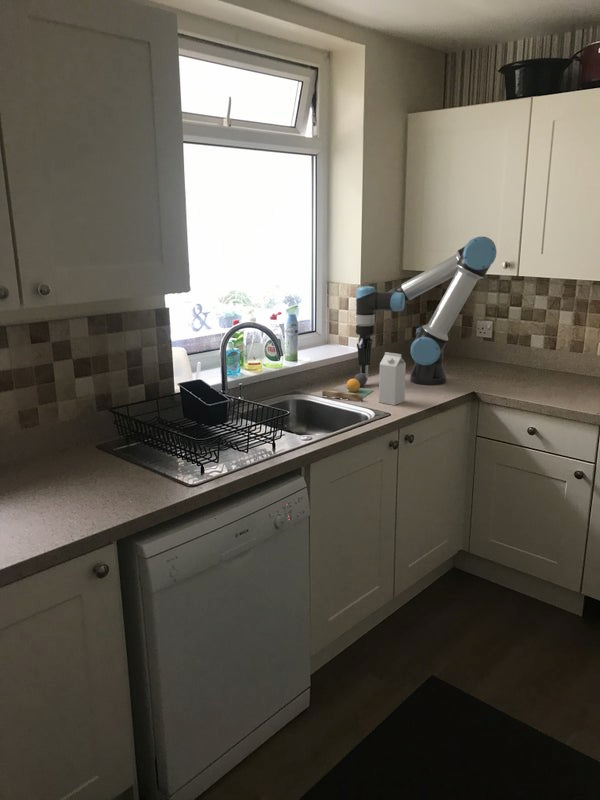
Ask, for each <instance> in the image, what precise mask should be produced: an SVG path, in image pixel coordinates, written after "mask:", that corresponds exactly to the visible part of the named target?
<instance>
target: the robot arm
mask: <svg viewBox="0 0 600 800" xmlns="http://www.w3.org/2000/svg"><path fill="white" fill-rule="evenodd" d="M495 244H496V243H495V242H494V241H493V240H492V239H491V238H489V237H486V236H477V237H474V238H471V239H470V240H469V241H468V242H467V243H466V244H465V245H464V246H463V247H461V248H460V249H458V250H456V253H455V254H454V255H452V256H450V257H448V258H446V259H445V260H443V261H441V262H439V263H437V264H436V265H434V266H432V267H429V268H428V269H427V270H425V271H423V272H421V273H420V274H419V273H418V274H417V275H416V276H413V277H412V278H410V279H408V280H406V281H405V282H403V283H401V284H399V285H397V286H396V287H393V288H391V289H389V290H388V291H376V288H375V286H367V285H365V286H363V285H362V286H359V287H357V289H356V298H355V303H356V304H355V306H356V307H355V310H356V311H355V316H354V318H355V321H356V323H355V324H356V325H355V334H356V335H359V338H358V343H357V344H356V348H357V357H358V366H360V373H361V374H364V375H365V376H366V378H367V381H369V366H370V365H371V354H372V345H373V338H371V336H372V335H374V334H375V316H376V314H375V311H376V312H377V311H378V312H379V311H381V312H382V311H383V312H384V311H385V312H395V313H396V312H402V311H404V309H405V306H406V305H405V304H406V303H407V302H409V301H411V300H413V299H414V298H416V297H418V296H420V295H421V294H423V293H425V292H427V291H429V290H431V289H433V288H436V286H437V287H438V285H440V284H443V283H444V282H446V281H449V280H450V279H452V280H451V282H450V283H449V285H448V287H447V289H446V291H445V292H444V294H443V296H442V298H441V300H440V302H439V304H438V305H437V306H436V308H435V310H434V312H433V314H432V315H431V317H430V320H429V321H428V323H427V324H425V325H422V326H421V327H417V328H416V330H415V331H416V332H415V339H414V341H412V343H411V345H410V355H411V357H412V360H413V361H414V365H413V367H412V369H411V373H410V375H409V378H410V382H412V383H414V384H419V385H426V386H427V385H428V386H429V385H430V386H434V385H435V386H436V385H442V384H445V383H446V382H447V374H446V370H445V368H444V348H445V346H446V345H447V343H448V341H449V337H448V333H449V332H450V329H451V328H452V326H453V325H454V323H455V322H456V319H457V318H458V315H459V313H460V312H461V310H462V308H463V306H464V305H465V304H466V301H467V300H468V298H469V296H470V295H471V293H472V292H473V289H474V288H475V286H476V283H477V282H478V281H479V280H482V279H484V278H485V276H486V274H487V273H488V272H489V270H490V267H491V266H492V265H493V263H494V262H495V260H496V258H497V246H496V245H495Z"/></svg>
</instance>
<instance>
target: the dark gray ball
mask: <svg viewBox="0 0 600 800" xmlns="http://www.w3.org/2000/svg"><path fill="white" fill-rule="evenodd" d="M353 379H356V380H358V381H359V383H360V388H361V387H364V386H365V385H366V384H367V382H368V380H367V378H366V376H365V375H364V374H361V372H359V373H357V374H355V375H354V377H353Z"/></svg>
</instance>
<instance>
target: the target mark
mask: <svg viewBox="0 0 600 800" xmlns="http://www.w3.org/2000/svg"><path fill="white" fill-rule="evenodd" d="M373 391H374V390H371V389H363V388H362V389H361V388H359V390H358V391H356V392H350V391H348V393H357V394H363V399H364V398H366V396H368V395H370V394H371V393H372V392H373Z"/></svg>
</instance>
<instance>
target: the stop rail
mask: <svg viewBox="0 0 600 800" xmlns="http://www.w3.org/2000/svg"><path fill="white" fill-rule="evenodd" d="M321 392H322V393H321V395H322V396H327V397H335V398H342V399H348V400H347V401H350V400H354V401H353V402H359V401H361V402H362V401H363V400H364V398H363V394H357V393H347V392H338V391H336V390H328V389H327V390H326V389H323V390H322V391H321Z"/></svg>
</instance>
